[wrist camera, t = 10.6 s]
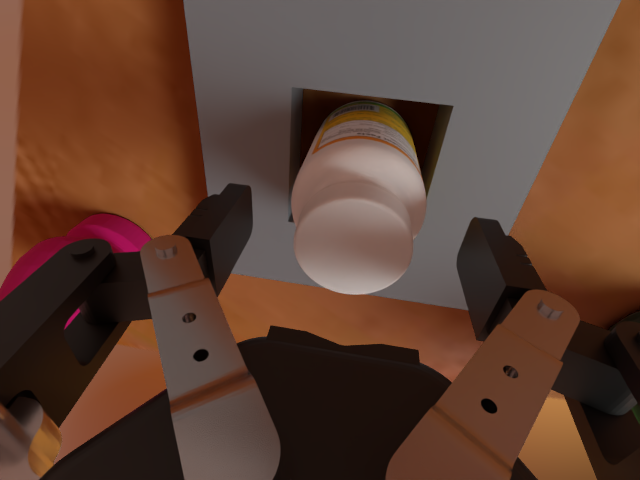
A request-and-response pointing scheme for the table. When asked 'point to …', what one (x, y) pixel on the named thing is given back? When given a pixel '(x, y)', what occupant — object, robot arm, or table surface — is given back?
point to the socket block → (396, 83)
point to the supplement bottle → (358, 200)
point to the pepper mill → (96, 226)
